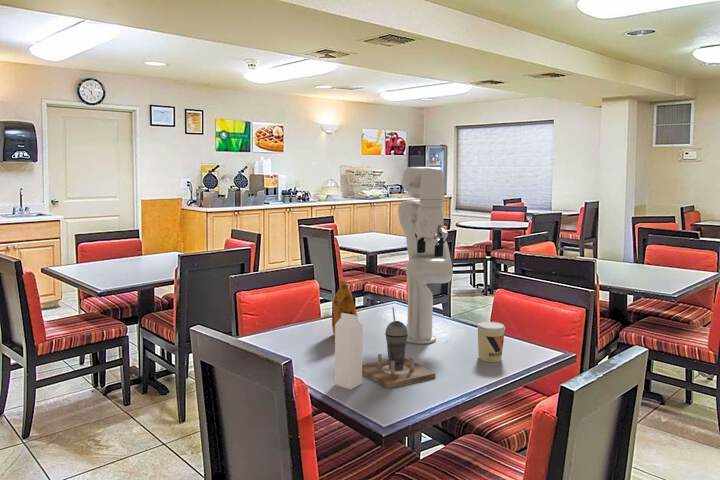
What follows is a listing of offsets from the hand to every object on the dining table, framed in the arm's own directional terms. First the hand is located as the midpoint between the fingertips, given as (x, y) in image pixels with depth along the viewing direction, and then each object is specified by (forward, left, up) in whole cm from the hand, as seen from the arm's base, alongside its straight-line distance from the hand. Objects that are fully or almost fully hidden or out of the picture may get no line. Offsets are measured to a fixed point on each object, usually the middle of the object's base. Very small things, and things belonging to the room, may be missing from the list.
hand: (429, 254), depth 194 cm
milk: (+8, -36, -36) cm, 52 cm away
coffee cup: (+12, +18, -36) cm, 42 cm away
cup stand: (+8, -19, -36) cm, 42 cm away
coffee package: (-34, -14, -36) cm, 52 cm away
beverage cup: (+8, -19, -35) cm, 40 cm away
